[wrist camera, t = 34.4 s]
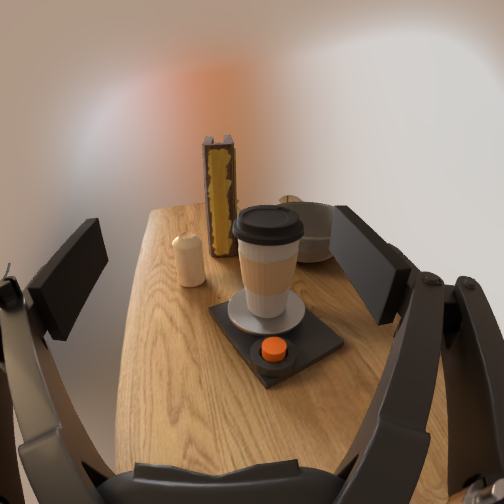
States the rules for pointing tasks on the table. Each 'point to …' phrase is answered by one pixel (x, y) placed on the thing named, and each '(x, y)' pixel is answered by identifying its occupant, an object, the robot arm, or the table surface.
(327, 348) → the scale
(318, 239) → the bowl
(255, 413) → the table surface
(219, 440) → the table surface
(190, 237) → the candle
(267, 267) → the coffee cup
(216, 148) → the book
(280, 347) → the tare button
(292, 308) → the scale pan
